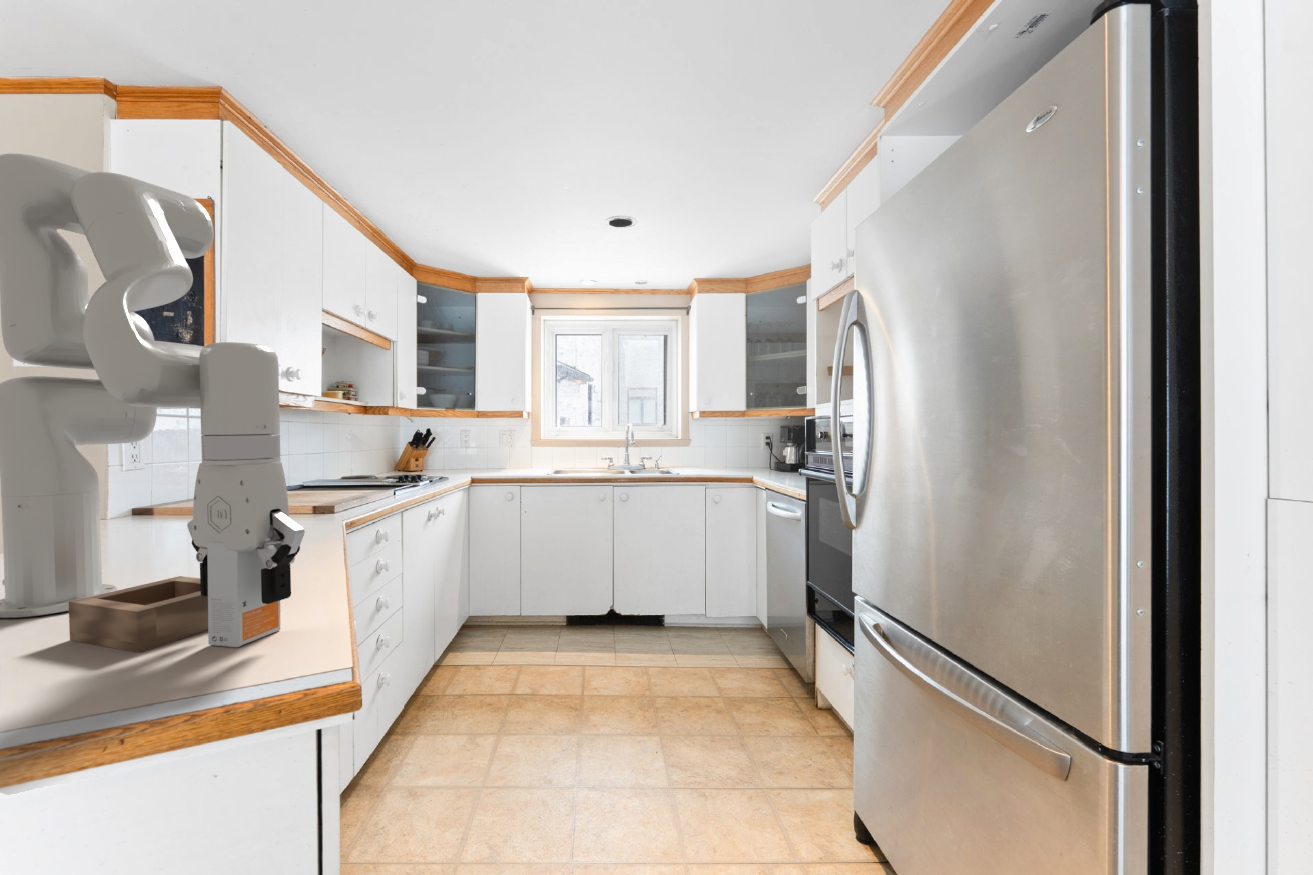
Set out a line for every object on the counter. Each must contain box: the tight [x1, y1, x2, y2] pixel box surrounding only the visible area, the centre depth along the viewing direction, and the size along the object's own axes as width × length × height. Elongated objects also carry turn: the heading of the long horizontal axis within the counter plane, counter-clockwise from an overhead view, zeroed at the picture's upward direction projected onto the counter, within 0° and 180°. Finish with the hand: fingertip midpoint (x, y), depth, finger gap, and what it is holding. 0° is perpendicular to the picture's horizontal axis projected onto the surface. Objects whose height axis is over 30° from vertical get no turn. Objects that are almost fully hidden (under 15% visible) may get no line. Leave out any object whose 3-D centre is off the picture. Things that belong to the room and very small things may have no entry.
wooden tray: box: [68, 575, 208, 653], centre depth 73 cm, size 12×12×4 cm
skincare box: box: [207, 540, 281, 648], centre depth 70 cm, size 6×4×12 cm
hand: (245, 596), depth 70 cm, fingers open, 9 cm apart
